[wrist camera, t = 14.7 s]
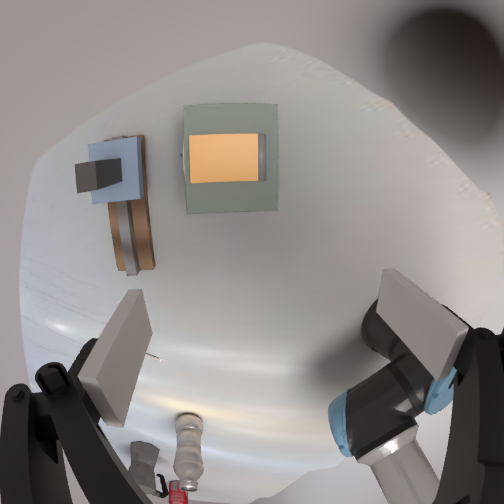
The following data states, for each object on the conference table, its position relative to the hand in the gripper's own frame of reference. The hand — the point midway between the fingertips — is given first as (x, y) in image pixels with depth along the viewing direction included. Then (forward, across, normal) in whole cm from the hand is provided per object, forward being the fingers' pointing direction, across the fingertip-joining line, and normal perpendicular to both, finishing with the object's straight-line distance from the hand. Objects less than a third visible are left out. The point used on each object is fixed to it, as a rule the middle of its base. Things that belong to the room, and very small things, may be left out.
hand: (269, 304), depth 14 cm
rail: (+27, +16, -2) cm, 32 cm away
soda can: (+30, +29, +96) cm, 105 cm away
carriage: (+25, +16, -8) cm, 31 cm away
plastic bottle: (+29, +15, +48) cm, 58 cm away
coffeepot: (+29, +31, +66) cm, 79 cm away
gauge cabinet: (+28, +1, -8) cm, 29 cm away
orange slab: (+17, +1, -8) cm, 19 cm away
